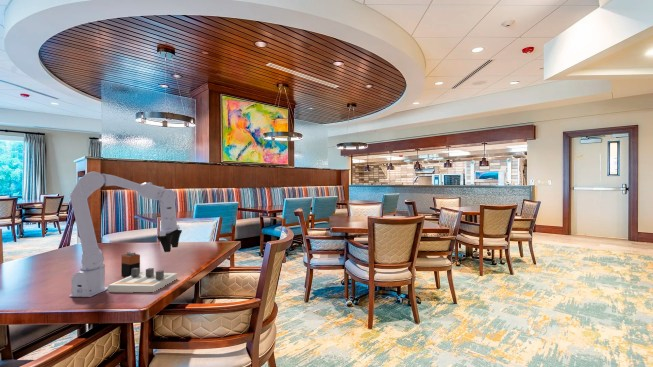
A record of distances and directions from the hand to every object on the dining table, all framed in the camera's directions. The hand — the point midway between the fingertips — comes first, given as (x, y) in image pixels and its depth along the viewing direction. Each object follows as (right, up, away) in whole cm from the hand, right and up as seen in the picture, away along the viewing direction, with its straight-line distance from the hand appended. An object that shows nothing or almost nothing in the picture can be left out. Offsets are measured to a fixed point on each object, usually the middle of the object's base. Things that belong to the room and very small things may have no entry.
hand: (171, 249), depth 126 cm
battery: (-20, -12, +4) cm, 23 cm away
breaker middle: (-6, -9, -6) cm, 12 cm away
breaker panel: (-6, -12, -9) cm, 16 cm away
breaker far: (-11, -9, -6) cm, 16 cm away
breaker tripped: (0, -9, -9) cm, 13 cm away
